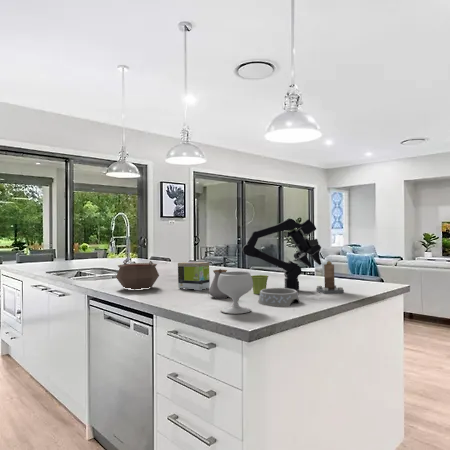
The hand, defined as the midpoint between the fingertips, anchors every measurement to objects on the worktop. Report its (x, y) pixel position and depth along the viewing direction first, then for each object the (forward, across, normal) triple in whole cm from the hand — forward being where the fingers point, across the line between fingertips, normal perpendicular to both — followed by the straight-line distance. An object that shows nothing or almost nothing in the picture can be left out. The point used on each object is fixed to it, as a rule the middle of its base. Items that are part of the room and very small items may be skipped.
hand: (315, 265), depth 196 cm
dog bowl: (0, -17, +36) cm, 40 cm away
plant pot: (-4, +6, +32) cm, 33 cm away
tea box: (-22, +36, +52) cm, 67 cm away
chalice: (-10, -26, +58) cm, 65 cm away
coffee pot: (-14, +1, +53) cm, 54 cm away
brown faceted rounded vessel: (-38, +50, +76) cm, 99 cm away
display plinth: (+14, -5, +4) cm, 15 cm away
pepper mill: (+12, -5, +3) cm, 14 cm away
